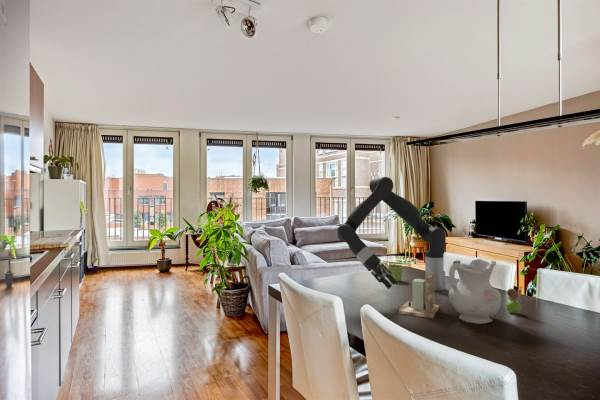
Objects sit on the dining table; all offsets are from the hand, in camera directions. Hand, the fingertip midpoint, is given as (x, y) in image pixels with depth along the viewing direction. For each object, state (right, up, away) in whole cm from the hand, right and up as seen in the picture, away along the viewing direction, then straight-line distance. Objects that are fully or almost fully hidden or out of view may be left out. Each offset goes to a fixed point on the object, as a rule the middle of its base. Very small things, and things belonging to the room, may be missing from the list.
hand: (393, 285), depth 167 cm
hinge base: (+10, -10, -6) cm, 15 cm away
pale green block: (+10, -8, -6) cm, 14 cm away
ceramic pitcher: (+28, -10, -18) cm, 34 cm away
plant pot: (+14, -9, +51) cm, 54 cm away
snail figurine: (+49, -10, -11) cm, 51 cm away
